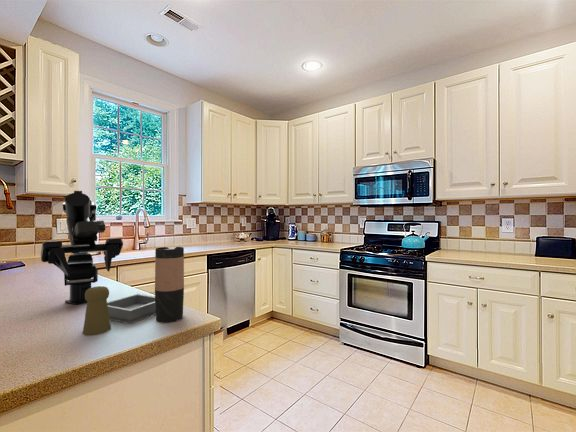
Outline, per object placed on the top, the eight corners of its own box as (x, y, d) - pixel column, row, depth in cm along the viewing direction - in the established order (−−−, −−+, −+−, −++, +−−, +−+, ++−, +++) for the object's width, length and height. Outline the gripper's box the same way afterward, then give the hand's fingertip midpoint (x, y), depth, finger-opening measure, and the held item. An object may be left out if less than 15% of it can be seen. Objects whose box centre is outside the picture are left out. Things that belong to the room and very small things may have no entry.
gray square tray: (98, 317, 84) (98, 304, 84) (137, 304, 95) (137, 293, 95) (129, 323, 78) (129, 310, 78) (167, 309, 90) (167, 298, 90)
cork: (77, 332, 73) (77, 288, 72) (102, 324, 78) (102, 283, 78) (91, 337, 70) (91, 291, 70) (116, 328, 75) (116, 286, 75)
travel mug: (166, 325, 77) (166, 250, 77) (148, 319, 81) (149, 248, 81) (189, 317, 84) (189, 247, 84) (172, 312, 88) (172, 246, 88)
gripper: (42, 210, 76) (48, 257, 68) (121, 211, 89) (134, 250, 82) (38, 239, 81) (43, 285, 74) (113, 236, 95) (124, 274, 87)
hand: (89, 272), depth 79 cm, fingers open, 9 cm apart
